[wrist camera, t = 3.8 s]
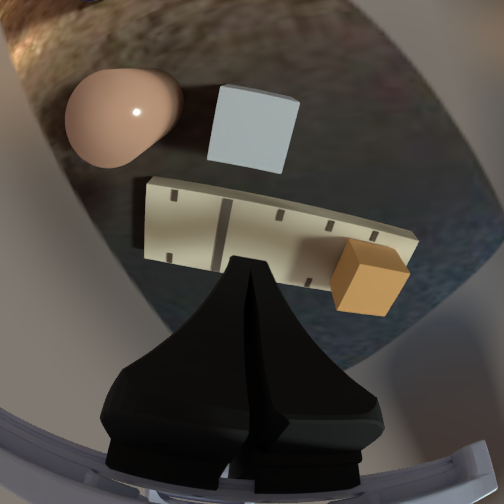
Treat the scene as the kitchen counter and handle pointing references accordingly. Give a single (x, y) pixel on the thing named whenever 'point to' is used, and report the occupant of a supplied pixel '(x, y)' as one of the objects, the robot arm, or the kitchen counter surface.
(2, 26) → the kitchen counter surface
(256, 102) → the grey block
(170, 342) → the robot arm
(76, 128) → the tan rounded cylinder
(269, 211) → the counting board
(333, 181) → the kitchen counter surface
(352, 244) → the tan square block
